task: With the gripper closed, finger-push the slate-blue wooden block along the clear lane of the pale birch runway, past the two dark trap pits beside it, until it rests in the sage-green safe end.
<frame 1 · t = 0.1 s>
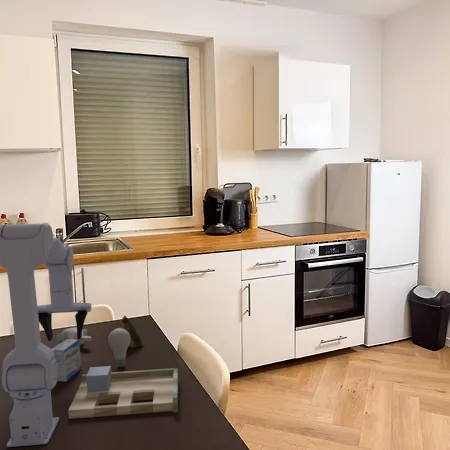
hand: (65, 338, 123), 10 cm above the table, fingers open, 7 cm apart
lightbulb: (120, 367, 128), on the table
rock: (128, 343, 146), on the table
slate block: (99, 386, 112), point 2 cm above the table, touching runway
runway: (127, 399, 110), on the table
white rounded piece: (74, 345, 146), on the table
medicine box: (66, 375, 124), on the table
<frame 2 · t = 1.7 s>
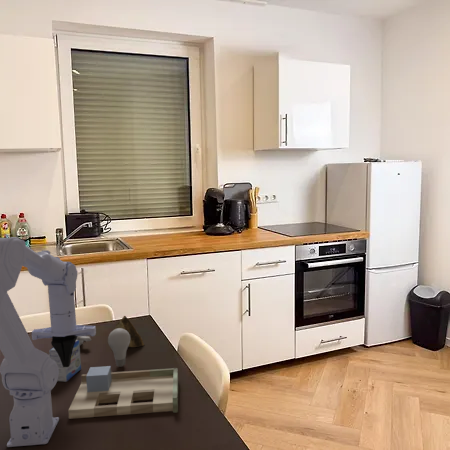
hand: (66, 365, 111), 8 cm above the table, fingers closed
nothing on the table moved.
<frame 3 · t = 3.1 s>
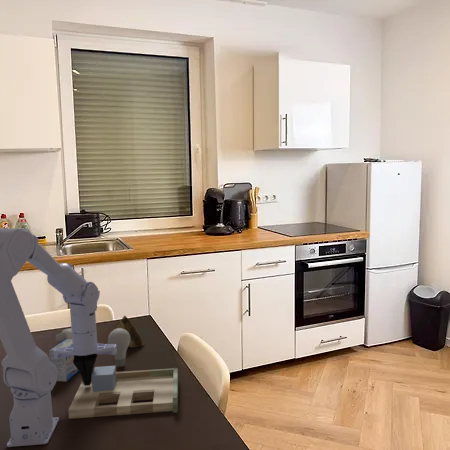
hand: (87, 383, 112), 3 cm above the table, fingers closed
slate block: (104, 386, 112), point 2 cm above the table, touching gripper, runway
everything else where it was.
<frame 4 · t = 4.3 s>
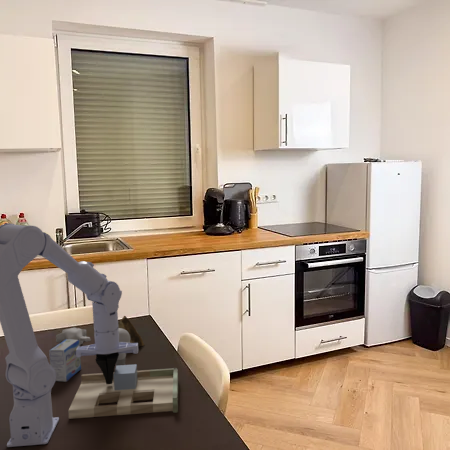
hand: (109, 382, 112), 3 cm above the table, fingers closed
slate block: (126, 384, 113), point 2 cm above the table, touching gripper, runway
everything else where it was.
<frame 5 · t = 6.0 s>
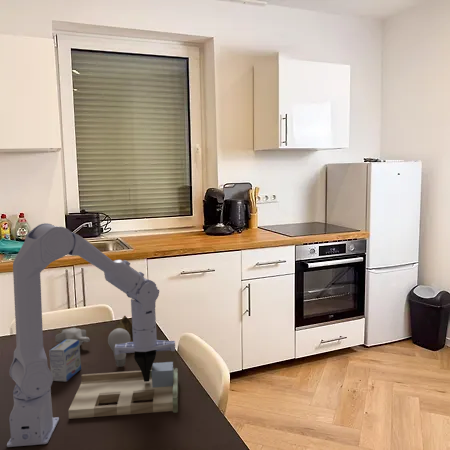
hand: (146, 379, 113), 3 cm above the table, fingers closed
slate block: (163, 382, 114), point 2 cm above the table, touching gripper, runway
everything else where it was.
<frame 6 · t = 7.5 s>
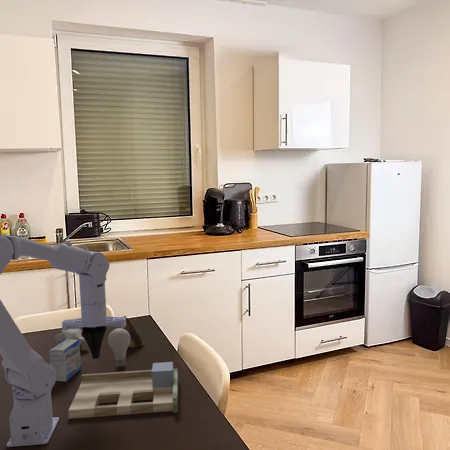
hand: (96, 357, 110), 10 cm above the table, fingers closed
slate block: (163, 382, 114), point 2 cm above the table, touching runway
everything else where it was.
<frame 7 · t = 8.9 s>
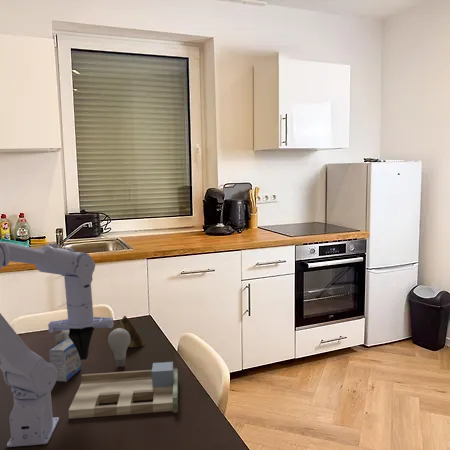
hand: (84, 358, 109), 10 cm above the table, fingers closed
at the end: slate block inside the target area (1.1 cm from its centre), point 2.0 cm above the table; slate block tilted 0° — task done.
